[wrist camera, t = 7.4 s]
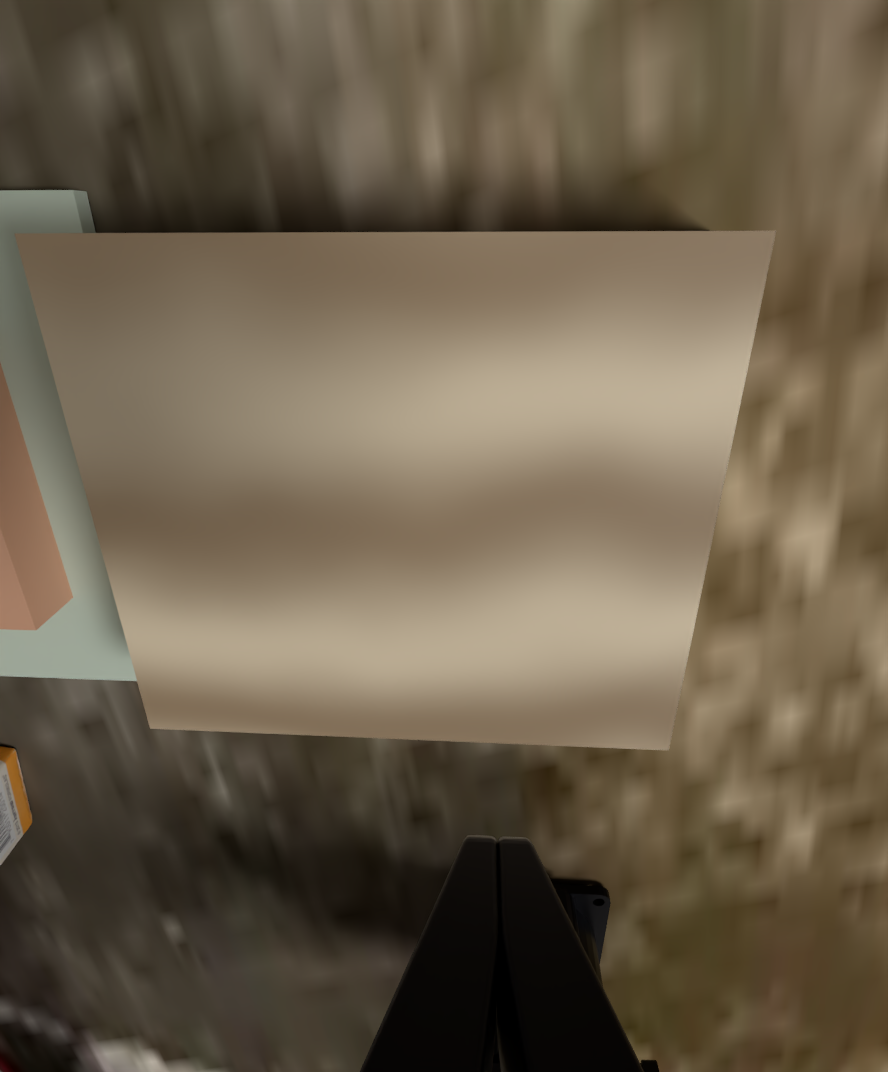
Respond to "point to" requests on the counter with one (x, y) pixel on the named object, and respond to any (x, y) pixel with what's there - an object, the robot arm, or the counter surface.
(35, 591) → the tile
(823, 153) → the counter surface
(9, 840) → the supplement box
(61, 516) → the mat
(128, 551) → the board
